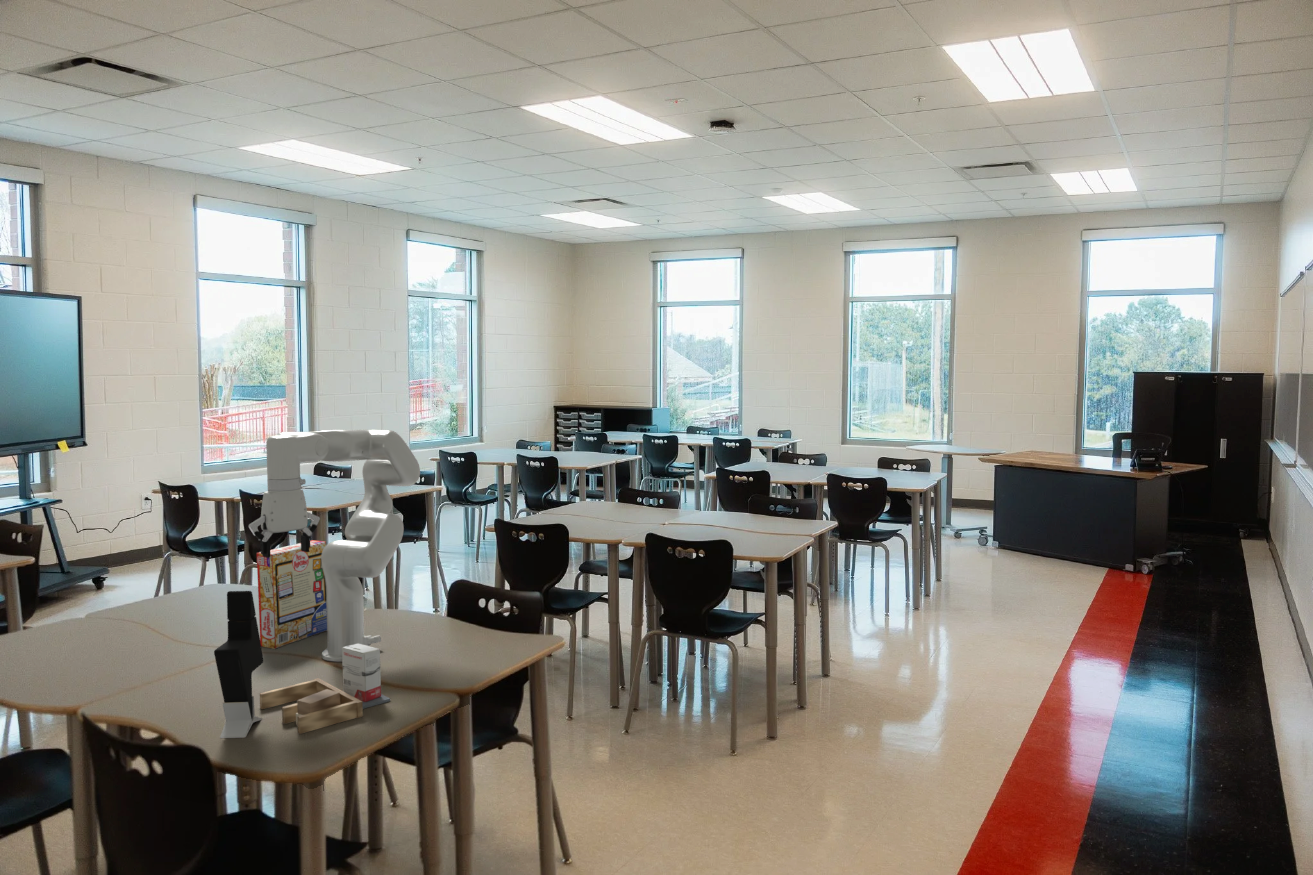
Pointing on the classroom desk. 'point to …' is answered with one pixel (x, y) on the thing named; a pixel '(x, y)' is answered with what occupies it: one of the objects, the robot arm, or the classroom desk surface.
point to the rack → (314, 720)
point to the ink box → (361, 672)
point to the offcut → (318, 701)
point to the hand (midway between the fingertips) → (286, 554)
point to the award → (239, 664)
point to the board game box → (291, 594)
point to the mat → (375, 701)
